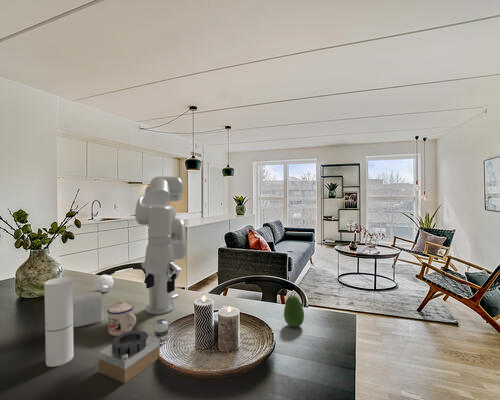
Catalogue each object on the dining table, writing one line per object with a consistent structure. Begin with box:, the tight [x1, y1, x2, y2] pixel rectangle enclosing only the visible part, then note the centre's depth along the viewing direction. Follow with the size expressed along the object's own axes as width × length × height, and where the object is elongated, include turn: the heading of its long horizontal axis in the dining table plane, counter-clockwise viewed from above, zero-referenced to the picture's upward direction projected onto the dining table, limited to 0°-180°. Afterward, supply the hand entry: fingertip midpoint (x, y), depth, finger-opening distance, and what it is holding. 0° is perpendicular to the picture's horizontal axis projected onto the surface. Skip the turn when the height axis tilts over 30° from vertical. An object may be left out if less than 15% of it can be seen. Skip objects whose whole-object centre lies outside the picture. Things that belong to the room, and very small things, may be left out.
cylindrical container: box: [43, 276, 75, 368], centre depth 85 cm, size 7×7×25 cm
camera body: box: [98, 329, 161, 384], centre depth 83 cm, size 13×11×8 cm
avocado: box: [283, 295, 305, 328], centre depth 106 cm, size 8×8×12 cm
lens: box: [154, 318, 169, 343], centre depth 96 cm, size 5×5×7 cm
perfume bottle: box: [93, 274, 115, 293], centre depth 143 cm, size 9×9×12 cm
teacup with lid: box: [106, 298, 137, 337], centre depth 103 cm, size 12×9×12 cm
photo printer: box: [73, 291, 104, 328], centre depth 109 cm, size 10×4×12 cm, turn 123°
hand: (160, 289), depth 95 cm, fingers open, 9 cm apart
